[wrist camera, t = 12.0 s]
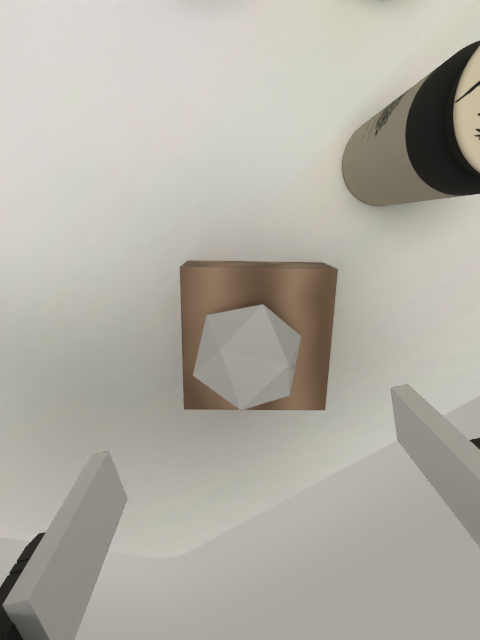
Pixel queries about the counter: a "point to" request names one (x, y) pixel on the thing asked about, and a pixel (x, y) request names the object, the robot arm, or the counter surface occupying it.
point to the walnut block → (278, 296)
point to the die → (247, 356)
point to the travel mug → (422, 139)
